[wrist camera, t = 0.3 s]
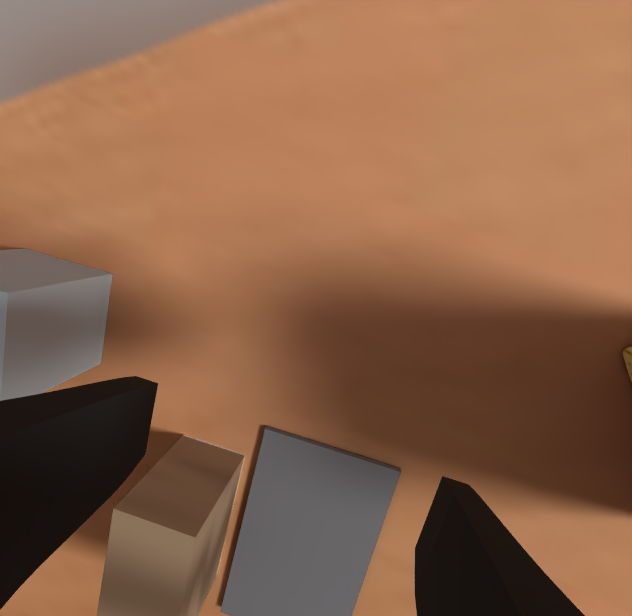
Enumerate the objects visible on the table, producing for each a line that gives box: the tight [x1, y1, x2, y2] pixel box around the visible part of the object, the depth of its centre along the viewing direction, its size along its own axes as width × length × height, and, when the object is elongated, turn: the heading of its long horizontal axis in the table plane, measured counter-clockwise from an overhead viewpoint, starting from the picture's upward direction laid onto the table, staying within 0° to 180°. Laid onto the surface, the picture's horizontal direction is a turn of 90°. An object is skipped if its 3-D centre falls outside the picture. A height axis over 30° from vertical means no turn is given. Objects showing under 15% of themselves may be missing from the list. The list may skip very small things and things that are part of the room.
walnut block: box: [97, 434, 245, 616], centre depth 20 cm, size 8×4×6 cm, turn 166°
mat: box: [220, 426, 401, 616], centre depth 22 cm, size 12×7×1 cm, turn 166°
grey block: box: [0, 248, 113, 401], centre depth 19 cm, size 5×5×6 cm
